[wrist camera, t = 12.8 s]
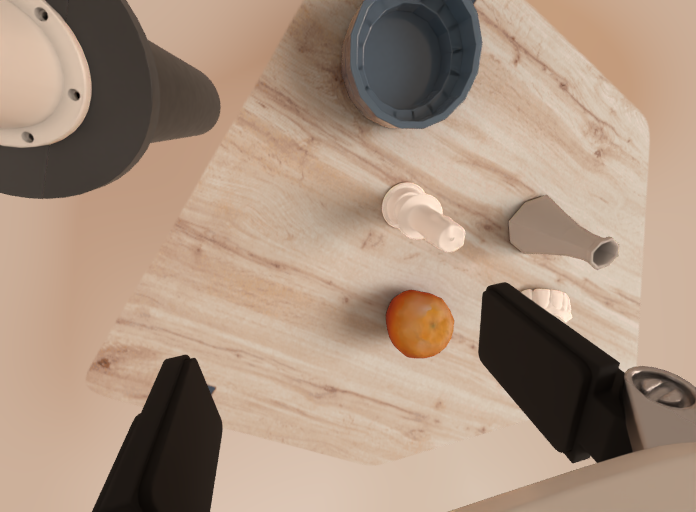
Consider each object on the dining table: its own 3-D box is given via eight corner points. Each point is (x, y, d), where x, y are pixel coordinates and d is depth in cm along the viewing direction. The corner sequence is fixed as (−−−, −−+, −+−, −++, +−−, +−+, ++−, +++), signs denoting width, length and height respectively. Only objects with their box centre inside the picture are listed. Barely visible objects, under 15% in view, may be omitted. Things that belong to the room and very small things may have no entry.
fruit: (366, 346, 41) (396, 356, 34) (378, 286, 43) (410, 283, 35) (419, 357, 44) (459, 369, 36) (429, 300, 45) (469, 300, 38)
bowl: (322, 97, 31) (328, 92, 26) (371, -37, 27) (388, -68, 23) (420, 145, 34) (440, 149, 30) (473, 32, 31) (506, 16, 26)
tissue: (531, 274, 43) (553, 287, 40) (569, 294, 46) (592, 308, 43) (506, 307, 45) (525, 322, 41) (544, 325, 47) (565, 341, 44)
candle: (375, 192, 35) (416, 224, 24) (420, 174, 35) (480, 198, 24) (389, 235, 37) (431, 282, 26) (431, 218, 38) (491, 257, 27)
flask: (566, 229, 42) (644, 259, 32) (518, 261, 42) (582, 300, 33) (549, 183, 39) (630, 202, 30) (498, 219, 39) (562, 249, 30)
